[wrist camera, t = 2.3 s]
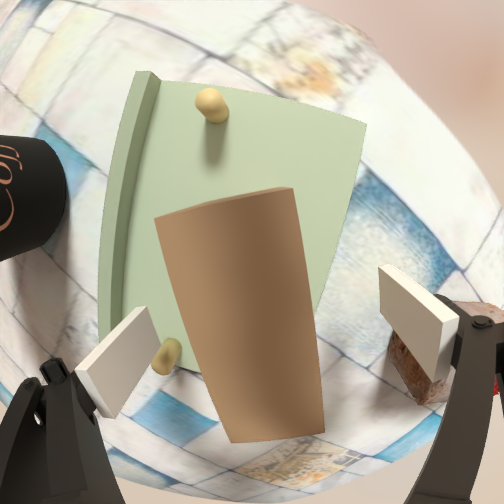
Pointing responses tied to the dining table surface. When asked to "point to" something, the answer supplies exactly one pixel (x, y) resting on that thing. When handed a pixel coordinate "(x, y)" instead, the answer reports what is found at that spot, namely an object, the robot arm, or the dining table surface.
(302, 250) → the brown box-like piece
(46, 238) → the coffee jar
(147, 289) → the ledge board
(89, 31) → the dining table surface
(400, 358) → the food item
